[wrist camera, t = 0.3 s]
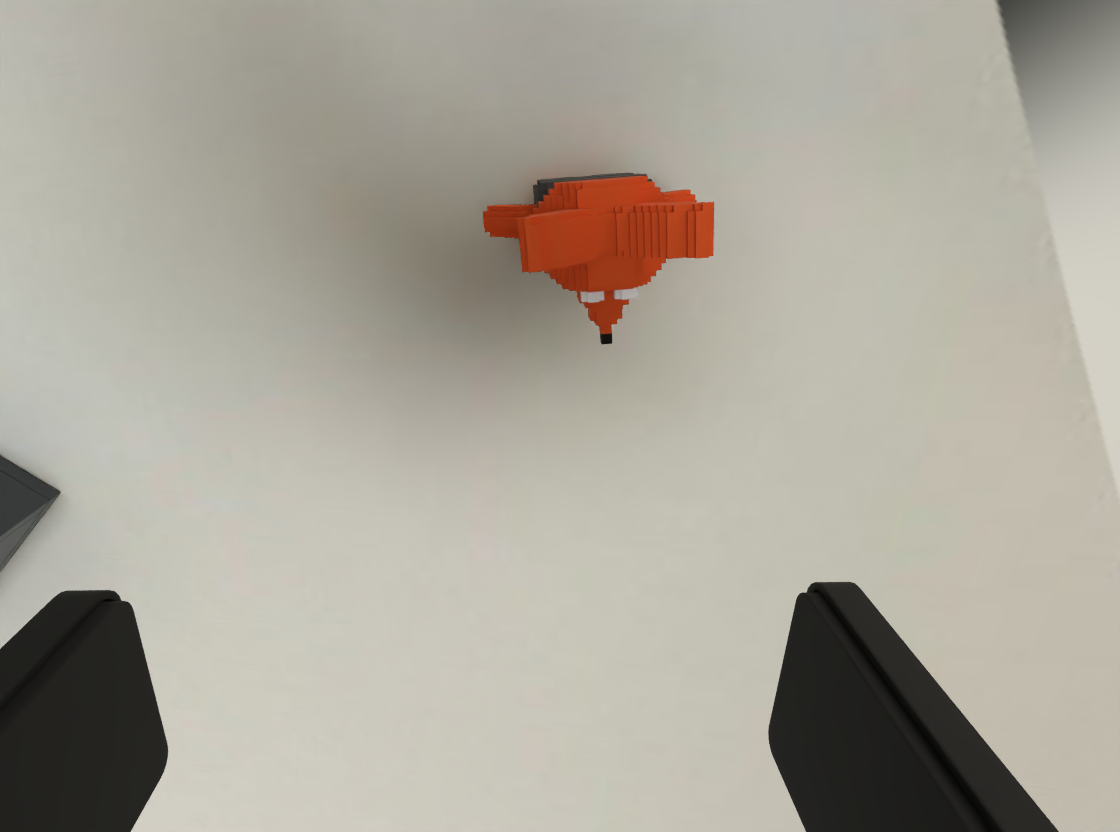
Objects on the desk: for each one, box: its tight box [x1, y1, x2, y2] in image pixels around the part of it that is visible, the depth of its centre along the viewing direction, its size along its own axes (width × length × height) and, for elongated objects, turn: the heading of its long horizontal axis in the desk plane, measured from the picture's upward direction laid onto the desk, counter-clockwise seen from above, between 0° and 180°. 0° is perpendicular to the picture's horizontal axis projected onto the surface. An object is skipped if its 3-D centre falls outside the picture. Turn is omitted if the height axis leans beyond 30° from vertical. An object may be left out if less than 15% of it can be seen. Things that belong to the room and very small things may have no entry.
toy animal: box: [483, 173, 714, 344], centre depth 24 cm, size 8×6×12 cm
